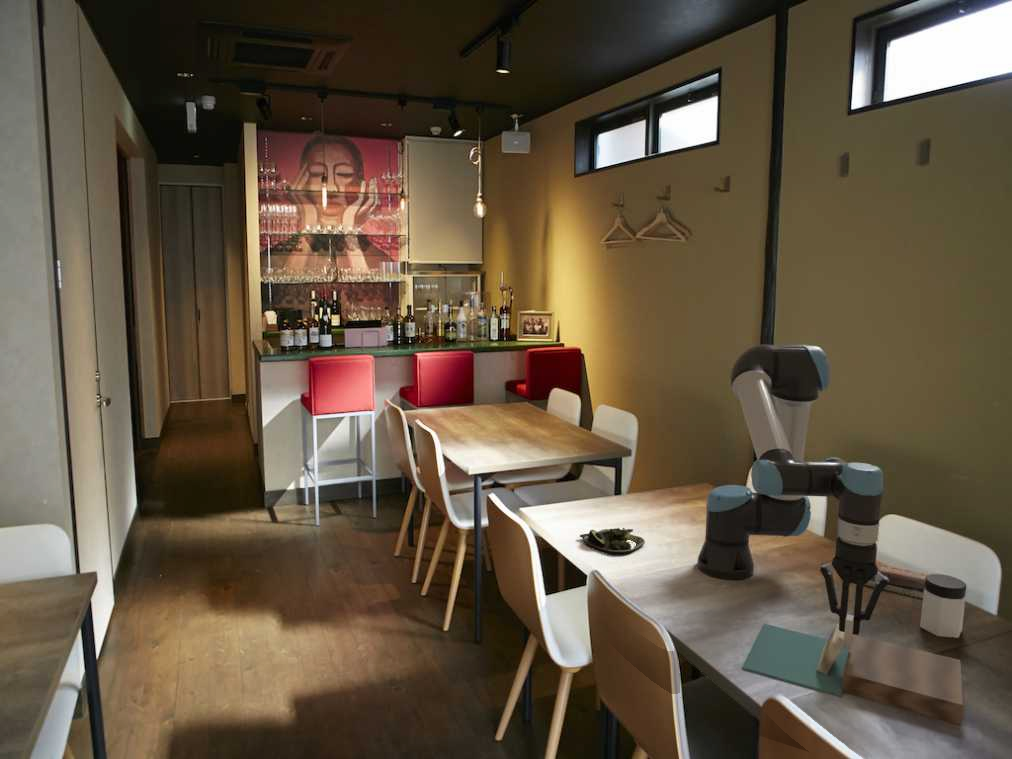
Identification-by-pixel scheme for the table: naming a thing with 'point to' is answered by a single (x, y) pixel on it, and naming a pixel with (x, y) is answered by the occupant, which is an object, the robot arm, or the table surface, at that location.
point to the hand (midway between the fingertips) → (847, 646)
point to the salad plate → (612, 541)
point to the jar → (943, 605)
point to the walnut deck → (904, 678)
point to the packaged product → (901, 581)
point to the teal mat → (795, 659)
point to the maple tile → (831, 650)
